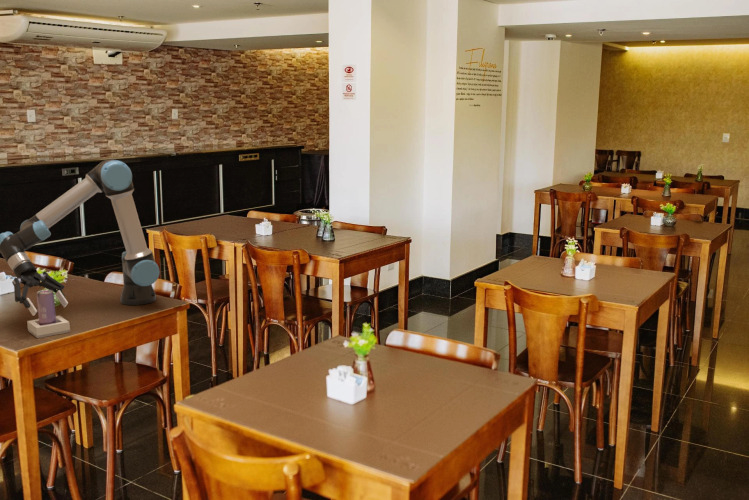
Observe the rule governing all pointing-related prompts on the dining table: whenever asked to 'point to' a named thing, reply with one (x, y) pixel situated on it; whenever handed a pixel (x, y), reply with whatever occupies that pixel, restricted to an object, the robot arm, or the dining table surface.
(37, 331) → the holder
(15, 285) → the robot arm
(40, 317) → the beverage can
